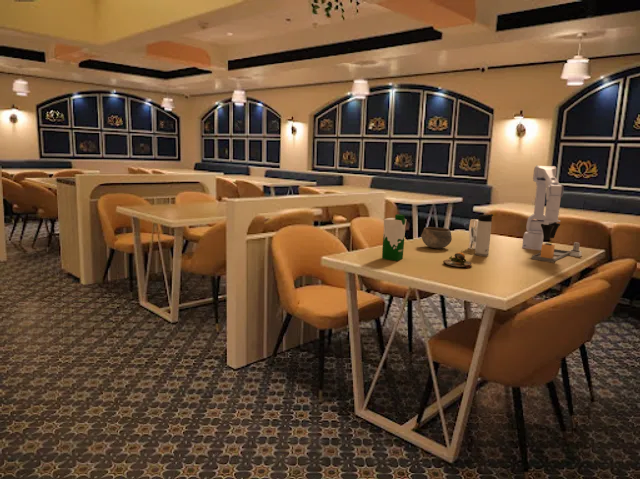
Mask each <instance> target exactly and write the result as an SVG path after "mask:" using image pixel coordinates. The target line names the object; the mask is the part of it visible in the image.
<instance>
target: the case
mask: <svg viewBox="0 0 640 479" xmlns="http://www.w3.org/2000/svg"><path fill="white" fill-rule="evenodd" d="M539 253H541V251H540V252H539ZM568 253H569V250H564V249H563V250H562V249H557V248H556V249H555V248H554V256H562V257H561V259H563V258H566V257H567V256H569V255H568Z"/></svg>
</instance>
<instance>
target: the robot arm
mask: <svg viewBox="0 0 640 479" xmlns="http://www.w3.org/2000/svg"><path fill="white" fill-rule="evenodd" d="M557 170H558V169H557V167H556V166H555V165H551V166H550V165H535V166H534V169H533V177H532V179H533V180H532V181H533V182H535V187H536V189H535V198H534V199H535V200H534V208H533V209H534V211H533V214H531V215H529V216H528V217H527V221H526V228H525V229H526V231H525V232H524V233H523V237H522V244H521V245H522V246H521V249H528V250H535V251H541V248H542V244H544V240H545V241H549V240H550V239H554V238H555V236H556V233H557V231H558V229H559V227H560V226H561V221H562V220H559V216H560V214H559V213H560V205H561V198H562V197H563V195H564V185H563V184H560V182H559V180H558V178H557ZM545 204H546V205H545ZM544 213H545V214H544Z"/></svg>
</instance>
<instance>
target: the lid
mask: <svg viewBox="0 0 640 479" xmlns="http://www.w3.org/2000/svg"><path fill="white" fill-rule="evenodd" d="M561 257H562V256H553V258H544V257H541V253H540V252H538V253H535V254H533V255H531V260H535V261H540V262H548V263H556V262H557V261H558V260H560V259H562V258H561Z"/></svg>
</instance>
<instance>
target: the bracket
mask: <svg viewBox="0 0 640 479" xmlns="http://www.w3.org/2000/svg"><path fill="white" fill-rule="evenodd" d="M568 251H569V253H568V255H567V256H568V257H569V256H571V257H577V258H580V257H581V256H582V253H583V251H582V250H579V252H576V251H573V248H571V249H569V250H568Z"/></svg>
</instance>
